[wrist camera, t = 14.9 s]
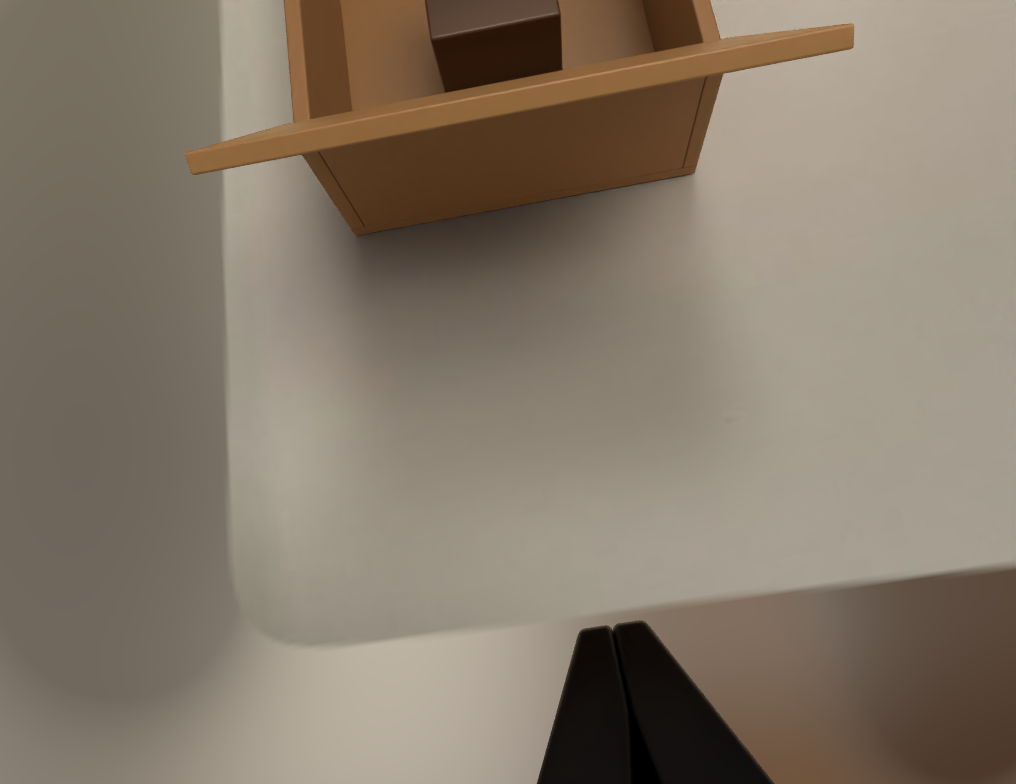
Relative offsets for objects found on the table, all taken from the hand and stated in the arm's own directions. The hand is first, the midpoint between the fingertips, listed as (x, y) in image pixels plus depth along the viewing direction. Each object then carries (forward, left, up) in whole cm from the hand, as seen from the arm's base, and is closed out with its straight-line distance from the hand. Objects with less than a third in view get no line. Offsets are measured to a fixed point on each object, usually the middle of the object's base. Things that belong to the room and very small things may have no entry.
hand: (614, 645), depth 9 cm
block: (+19, 0, -12) cm, 22 cm away
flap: (+11, 0, -4) cm, 12 cm away
